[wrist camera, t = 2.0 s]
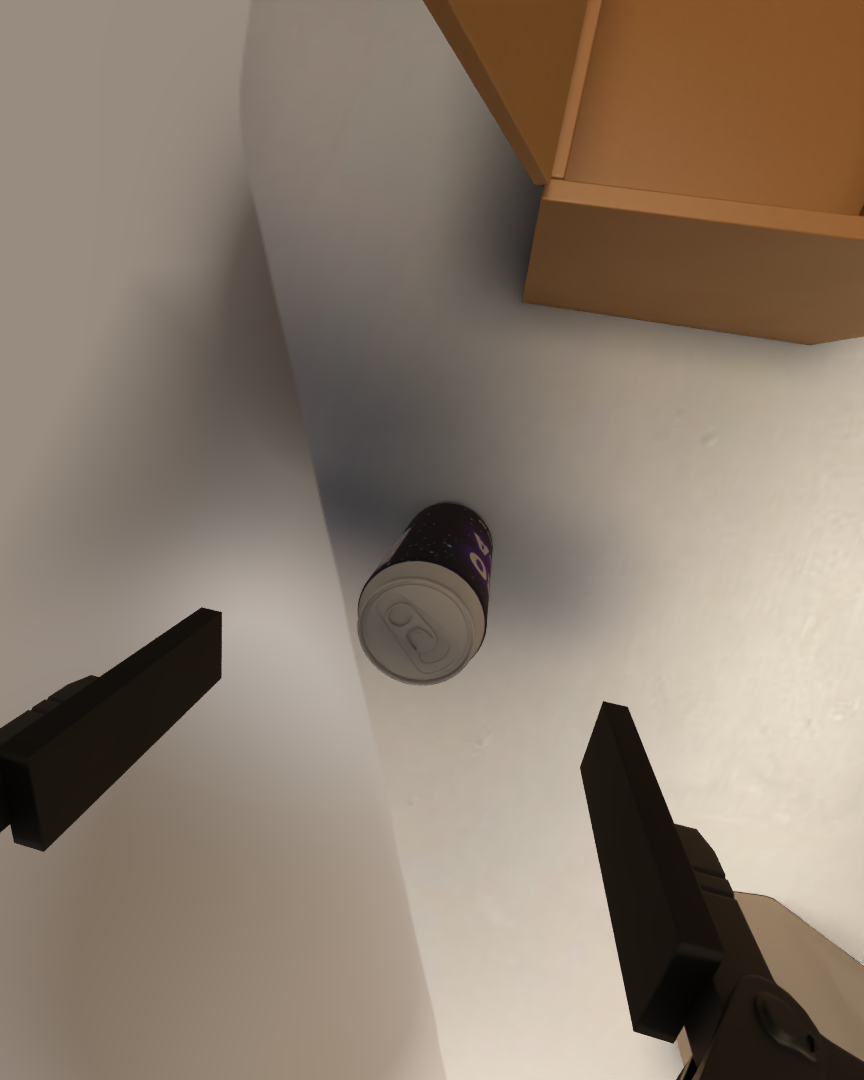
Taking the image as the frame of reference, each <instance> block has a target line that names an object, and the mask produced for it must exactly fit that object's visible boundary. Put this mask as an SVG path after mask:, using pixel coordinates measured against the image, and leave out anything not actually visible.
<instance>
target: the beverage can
mask: <svg viewBox="0 0 864 1080" xmlns="http://www.w3.org/2000/svg"><path fill="white" fill-rule="evenodd" d="M492 549H493V545H492V538H491V534H490V532H489V529H488V527H487V526H486V524H485V523H484V521H483V520H482V519H481V518H480V517H479V516H478V515H477V514H476V513H474V512H473V511H471V510H470V509H468V508H466V507H463V506H460V505H456V504H437V505H433V506H431V507H428V508H426V509H424V510H423V511H421V512H420V513H419V514H418V515H417V516H416V517H415V518H414V519H413V520H412V521H411V523H410V524H409V525H408V527H407V528H406V530H405V531H404V532H403V534H402V535H401V536H400V538H399V539H398V540H397V542H396V543H395V544H394V546H393V547H392V549H391V550H390V551H389V553H388V554H387V555H386V557H385V558H384V559H383V561H382V562H381V563H380V565H379V566H378V568H377V569H376V570H375V572H374V573H373V574H372V576H371V577H370V578H369V580H368V581H367V583H366V584H365V586H364V588H363V590H362V592H361V595H360V598H359V602H358V636H359V641H360V643H361V646H362V649H363V650H364V652H365V654H366V656H367V657H368V658H369V660H370V661H371V662H372V663H373V664H374V665H375V666H376V667H377V668H378V669H379V670H380V671H381V672H383V673H384V674H386V675H387V676H389V677H391V678H393V679H395V680H398V681H400V682H403V683H407V684H412V685H432V684H438V683H441V682H444V681H446V680H448V679H450V678H452V677H454V676H455V675H456V674H458V673H459V672H460V671H461V670H462V669H463V668H464V667H465V666H466V665H467V663H468V662H469V660H471V659H472V658H473V656H474V655H475V654H476V653H477V651H478V650H479V648H480V647H481V645H482V643H483V640H484V637H485V633H486V628H487V615H488V601H489V588H490V575H491V562H492Z"/></svg>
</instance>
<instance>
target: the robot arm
mask: <svg viewBox="0 0 864 1080" xmlns="http://www.w3.org/2000/svg"><path fill="white" fill-rule="evenodd" d="M221 653H222V612H219V611H214V610H210V609H206V608H200V609H199V610H197V611H196V612H194V613H193V614H191V615H190V616H188V617H187V618H185V619H184V620H182V621H181V622H180V623H178V624H177V625H175V626H174V627H172V628H171V629H169V630H168V631H167V632H165V633H163V634H162V635H160V636H159V637H158V638H156V639H155V640H153V641H152V642H150V643H149V644H147V645H146V646H145V647H143V648H141V649H140V650H138V651H137V652H136V653H134V654H133V655H131V656H130V657H128V658H127V659H125V660H124V661H122V662H121V663H120V664H118V665H117V666H115V667H114V668H112V669H111V670H109V671H108V672H106V673H105V674H103V675H102V676H101V677H96V676H92V675H90V676H88V677H85V678H83V679H80V680H78V681H75V682H73V683H70V684H68V685H66V686H65V687H63V688H62V689H60V690H59V691H57V692H55V693H54V694H53V695H51V696H49V697H48V699H47V700H43V701H42V702H40V703H39V704H37V705H36V706H34V707H33V708H32V710H31V711H30V710H28V711H26V712H25V713H23V714H22V715H20V716H19V717H17V718H15V719H14V720H12V721H11V722H9V723H8V724H6V725H5V726H3V727H2V728H0V832H1V831H2V830H4V829H5V828H6V827H7V826H8V825H11V829H12V835H13V839H14V843H17V844H20V845H24V846H27V847H30V848H33V849H37V850H40V851H45V850H46V849H47V848H48V847H49V846H50V845H51V844H52V843H53V842H54V841H55V840H56V839H57V838H58V837H59V836H60V835H61V834H63V832H64V831H66V829H68V828H69V827H70V826H71V825H72V824H73V823H74V822H75V821H76V820H77V819H78V818H79V817H80V816H81V815H82V814H83V813H84V812H85V811H86V810H87V809H88V808H89V807H90V806H91V805H92V804H93V803H94V802H95V801H96V800H97V799H98V798H99V797H100V796H101V795H102V794H103V793H104V792H105V791H106V790H107V789H108V788H109V787H110V786H111V785H113V784H114V783H115V782H116V780H118V779H119V778H120V777H121V776H122V775H123V774H124V773H125V772H126V771H127V770H128V769H129V768H130V767H131V766H132V765H133V764H134V763H135V762H136V761H137V760H138V759H139V758H140V757H141V756H142V755H143V754H144V753H145V752H146V751H147V750H148V749H149V748H150V747H151V746H152V745H153V744H154V743H155V742H157V740H159V739H160V738H161V736H163V735H164V734H165V733H166V732H167V731H168V730H169V729H170V728H171V727H172V726H173V725H174V724H175V723H176V722H177V721H178V720H179V719H180V718H181V717H182V716H183V715H184V714H185V713H186V712H187V711H188V710H189V709H190V708H191V707H192V706H193V705H194V704H195V703H196V702H197V701H198V700H199V699H200V698H201V697H202V696H203V695H204V694H206V693H207V691H209V690H210V689H211V688H212V687H213V686H214V685H215V684H216V683H217V682H218V681H219V680H220V679H221V657H222V654H221ZM580 770H581V775H582V780H583V784H584V789H585V794H586V799H587V804H588V809H589V814H590V819H591V824H592V829H593V834H594V839H595V844H596V848H597V853H598V858H599V863H600V868H601V873H602V878H603V883H604V888H605V893H606V898H607V903H608V908H609V912H610V917H611V922H612V927H613V932H614V937H615V942H616V947H617V952H618V957H619V962H620V967H621V972H622V976H623V981H624V986H625V991H626V996H627V1001H628V1006H629V1011H630V1016H631V1021H632V1026H633V1031H634V1032H637V1033H641V1034H644V1035H647V1036H651V1037H654V1038H657V1039H660V1040H664V1041H667V1042H670V1043H673V1044H674V1042H675V1040H676V1039H677V1037H678V1035H679V1034H680V1032H681V1030H682V1029H683V1027H685V1031H686V1034H687V1038H688V1041H689V1045H690V1048H691V1052H692V1055H691V1057H690V1059H689V1060H688V1062H687V1063H686V1065H685V1067H684V1068H683V1070H682V1071H681V1073H680V1074H679V1076H678V1078H677V1079H676V1080H864V1061H862V1060H861V1059H859V1058H857V1057H856V1056H854V1055H852V1054H851V1053H849V1052H848V1051H846V1050H844V1049H843V1048H841V1047H839V1046H838V1045H836V1044H835V1043H833V1042H831V1041H830V1040H829V1039H827V1038H826V1037H824V1036H823V1035H822V1034H820V1033H819V1030H818V1029H817V1027H816V1026H815V1024H814V1023H813V1021H812V1020H811V1018H810V1017H809V1015H808V1014H807V1012H806V1011H805V1010H804V1008H803V1007H802V1006H801V1005H800V1004H799V1003H798V1002H797V1001H796V1000H795V999H794V998H793V997H792V996H791V995H790V994H789V993H788V992H787V991H785V990H784V989H783V988H781V987H780V986H778V985H777V984H776V982H775V980H774V978H773V977H772V975H771V973H770V970H769V968H768V966H767V964H766V962H765V960H764V957H763V955H762V953H761V951H760V949H759V947H758V944H757V942H756V940H755V938H754V936H753V934H752V932H751V929H750V927H749V925H748V923H747V921H746V919H745V916H744V914H743V912H742V910H741V908H740V906H739V903H738V901H737V900H736V899H735V898H734V893H733V890H732V888H731V886H730V884H729V882H728V880H726V879H725V873H724V871H723V869H722V867H721V865H720V862H719V860H718V858H717V856H716V854H715V852H714V850H713V849H712V848H711V847H710V845H709V844H708V843H707V842H706V840H705V839H704V838H703V837H702V835H701V834H700V833H699V832H698V830H697V829H693V828H689V827H685V826H681V825H678V824H674V822H673V820H672V817H671V815H670V812H669V810H668V807H667V805H666V802H665V800H664V797H663V795H662V792H661V790H660V787H659V785H658V782H657V780H656V777H655V775H654V772H653V770H652V767H651V764H650V762H649V759H648V757H647V754H646V752H645V749H644V747H643V744H642V742H641V739H640V737H639V734H638V732H637V729H636V727H635V724H634V722H633V719H632V717H631V714H630V712H629V709H628V707H625V706H621V705H617V704H613V703H608V702H604V701H603V703H602V706H601V709H600V712H599V715H598V718H597V720H596V723H595V726H594V729H593V732H592V735H591V738H590V740H589V743H588V746H587V749H586V752H585V755H584V758H583V760H582V763H581V766H580Z"/></svg>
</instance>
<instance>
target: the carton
mask: <svg viewBox="0 0 864 1080" xmlns="http://www.w3.org/2000/svg"><path fill="white" fill-rule="evenodd" d="M522 302H525V303H532V304H538V305H545V306H552V307H558V308H565V309H572V310H578V311H585V312H592V313H599V314H605V315H612V316H619V317H625V318H632V319H639V320H646V321H652V322H659V323H666V324H672V325H679V326H686V327H692V328H699V329H706V330H713V331H719V332H726V333H733V334H739V335H746V336H753V337H759V338H766V339H773V340H780V341H786V342H793V343H800V344H806V345H814V344H820V343H826V342H832V341H838V340H844V339H850V338H857V337H863V336H864V0H587V5H586V10H585V15H584V19H583V24H582V29H581V34H580V39H579V44H578V49H577V53H576V58H575V63H574V68H573V73H572V78H571V83H570V87H569V92H568V97H567V102H566V107H565V112H564V117H563V121H562V126H561V131H560V136H559V141H558V146H557V151H556V155H555V160H554V165H553V170H552V175H551V180H550V183H549V184H548V185H543V190H542V195H541V200H540V206H539V211H538V217H537V222H536V227H535V233H534V238H533V244H532V249H531V255H530V260H529V266H528V271H527V276H526V282H525V287H524V293H523V298H522Z"/></svg>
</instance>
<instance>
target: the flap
mask: <svg viewBox="0 0 864 1080" xmlns="http://www.w3.org/2000/svg"><path fill="white" fill-rule="evenodd" d="M423 1H424V3H425V5H426V6H427V8H428V10H429V11H430V13H431V14H432V16H433V18H434V19H435V21H436V23H437V24H438V26H439V28H440V29H441V31H442V33H443V34H444V36H445V38H446V39H447V41H448V43H449V44H450V46H451V47H452V49H453V51H454V52H455V54H456V56H457V57H458V59H459V61H460V62H461V64H462V66H463V67H464V69H465V71H466V72H467V74H468V76H469V77H470V79H471V80H472V82H473V84H474V85H475V87H476V89H477V90H478V92H479V94H480V95H481V97H482V99H483V100H484V102H485V104H486V105H487V107H488V109H489V110H490V112H491V113H492V115H493V117H494V118H495V120H496V122H497V123H498V125H499V127H500V128H501V130H502V132H503V133H504V135H505V137H506V138H507V140H508V142H509V143H510V145H511V147H512V148H513V150H514V151H515V153H516V155H517V156H518V158H519V160H520V161H521V163H522V165H523V166H524V168H525V170H526V171H527V173H528V175H529V176H530V178H531V180H532V181H533V183H534V184H535V185H548V184H549V183H550V180H551V175H552V170H553V165H554V160H555V155H556V151H557V146H558V141H559V136H560V131H561V126H562V121H563V117H564V112H565V107H566V102H567V97H568V92H569V87H570V83H571V78H572V73H573V68H574V63H575V58H576V53H577V49H578V44H579V39H580V34H581V29H582V24H583V19H584V15H585V10H586V5H587V0H423Z"/></svg>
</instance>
